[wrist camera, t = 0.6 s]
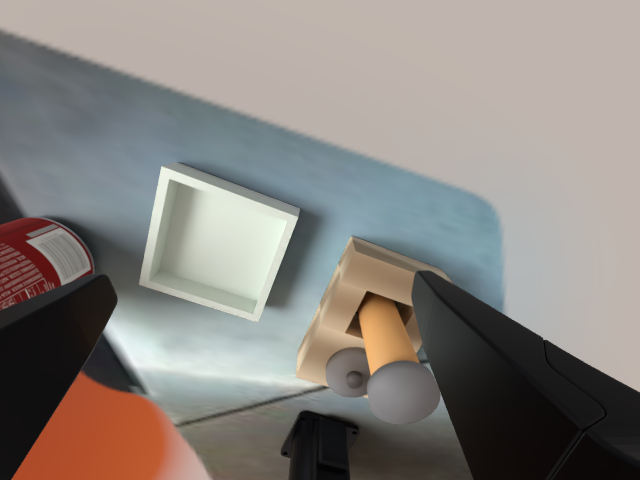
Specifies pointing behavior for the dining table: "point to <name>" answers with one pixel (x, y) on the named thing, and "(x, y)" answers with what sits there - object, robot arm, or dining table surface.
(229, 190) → the tray
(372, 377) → the pin
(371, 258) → the block
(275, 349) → the dining table surface
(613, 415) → the robot arm
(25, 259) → the soda can
